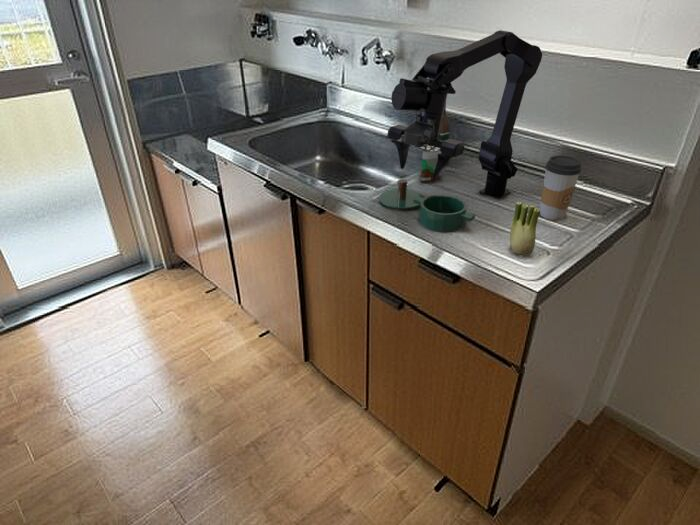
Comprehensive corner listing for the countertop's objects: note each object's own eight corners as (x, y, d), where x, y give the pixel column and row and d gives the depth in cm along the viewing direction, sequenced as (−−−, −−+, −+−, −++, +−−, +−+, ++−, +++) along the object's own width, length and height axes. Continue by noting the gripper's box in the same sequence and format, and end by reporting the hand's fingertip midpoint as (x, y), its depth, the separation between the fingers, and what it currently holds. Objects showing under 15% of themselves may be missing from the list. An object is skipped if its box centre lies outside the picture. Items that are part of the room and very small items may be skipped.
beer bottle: (441, 169, 157) (449, 91, 144) (419, 164, 161) (424, 88, 148) (450, 161, 163) (458, 86, 150) (428, 157, 166) (435, 83, 154)
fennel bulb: (504, 247, 115) (513, 200, 109) (523, 245, 116) (533, 198, 110) (516, 260, 111) (526, 211, 104) (536, 257, 112) (547, 209, 105)
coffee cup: (552, 225, 125) (566, 168, 117) (528, 212, 131) (539, 158, 123) (575, 218, 128) (590, 163, 120) (551, 205, 134) (563, 152, 126)
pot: (426, 204, 135) (428, 188, 132) (481, 223, 126) (484, 206, 123) (402, 219, 128) (403, 202, 125) (458, 240, 118) (461, 222, 116)
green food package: (441, 186, 146) (444, 153, 140) (420, 184, 147) (422, 152, 141) (442, 170, 156) (446, 140, 151) (423, 169, 157) (425, 138, 152)
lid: (396, 188, 144) (397, 168, 141) (432, 200, 137) (434, 180, 134) (370, 202, 136) (370, 181, 133) (406, 215, 130) (408, 194, 126)
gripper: (381, 105, 116) (370, 169, 123) (454, 124, 108) (438, 191, 115) (403, 101, 125) (392, 161, 132) (472, 119, 117) (456, 181, 124)
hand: (418, 173), depth 125 cm, fingers open, 9 cm apart
